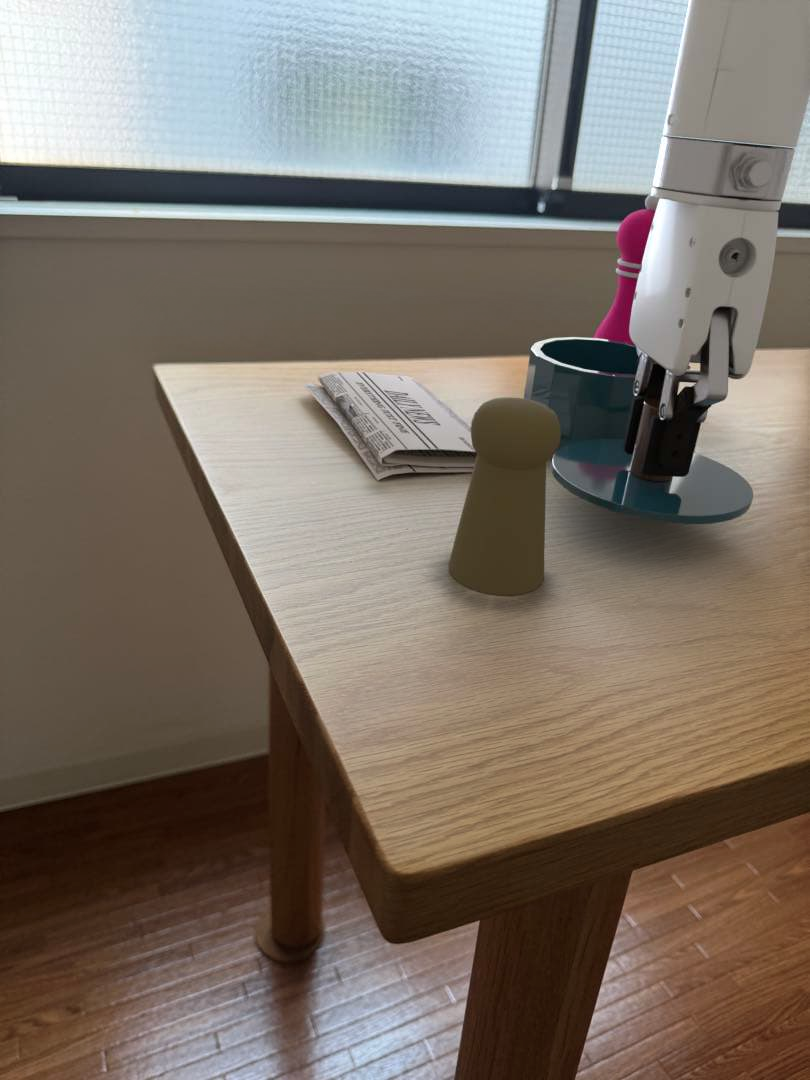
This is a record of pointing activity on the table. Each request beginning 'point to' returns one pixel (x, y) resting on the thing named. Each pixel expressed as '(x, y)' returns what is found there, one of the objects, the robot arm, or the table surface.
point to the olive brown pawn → (506, 498)
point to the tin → (584, 385)
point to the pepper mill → (628, 271)
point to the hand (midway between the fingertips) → (654, 461)
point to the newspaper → (395, 423)
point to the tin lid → (650, 481)
